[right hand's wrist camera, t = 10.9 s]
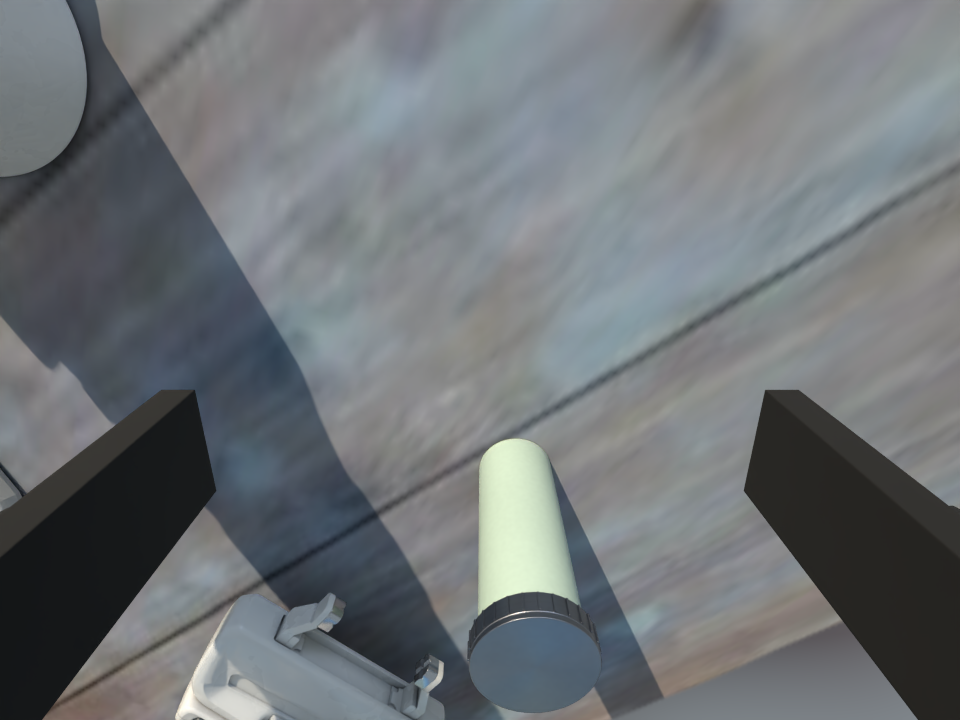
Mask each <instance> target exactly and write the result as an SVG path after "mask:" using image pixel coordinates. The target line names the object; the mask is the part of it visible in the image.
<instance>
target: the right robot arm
mask: <svg viewBox="0 0 960 720" xmlns="http://www.w3.org/2000/svg"><path fill="white" fill-rule="evenodd" d="M215 492H216V487H215V483H214V478H213V473H212V469H211V464H210V459H209V455H208V450H207V445H206V441H205V436H204V431H203V426H202V422H201V417H200V412H199V408H198V403H197V398H196V394H195V390H161V391H159V392H158V393H157V394H156V395H154V396H153V397H152V398H150V399H149V400H148V401H147V402H145V403H144V404H143V405H141V406H140V407H139V408H137V409H136V410H135V411H134V412H132V413H131V414H130V415H128V416H127V417H126V418H124V419H123V420H122V421H121V422H119V423H118V424H117V425H115V426H114V427H113V428H112V429H110V430H109V431H108V432H106V433H105V434H104V435H102V436H101V437H100V438H99V439H97V440H96V441H95V442H93V443H92V444H91V445H90V446H88V447H87V448H86V449H84V450H83V451H82V452H80V453H79V454H78V455H77V456H75V457H74V458H73V459H71V460H70V461H69V462H68V463H66V464H65V465H64V466H62V467H61V468H60V469H58V470H57V471H56V472H55V473H53V474H52V475H51V476H49V477H48V478H47V479H45V480H44V481H43V482H42V483H40V484H39V485H38V486H36V487H35V488H34V489H33V490H31V491H30V492H29V493H27V494H26V495H25V496H23V497H22V498H21V499H20V500H18V501H17V502H16V503H14V504H13V505H12V506H11V507H9V508H6V509H4V510H2V511H0V720H42V719H43V718H44V716H45V715H46V714H47V712H48V711H49V710H50V709H51V707H52V706H53V705H54V703H55V702H56V701H57V699H58V698H59V697H60V695H61V694H62V693H63V691H64V690H65V689H66V687H67V686H68V685H69V684H70V682H71V681H72V680H73V678H74V677H75V676H76V674H77V673H78V672H79V670H80V669H81V668H82V666H83V665H84V664H85V663H86V661H87V660H88V659H89V657H90V656H91V655H92V653H93V652H94V651H95V649H96V648H97V647H98V645H99V644H100V643H101V641H102V640H103V639H104V638H105V636H106V635H107V634H108V632H109V631H110V630H111V628H112V627H113V626H114V624H115V623H116V622H117V620H118V619H119V618H120V617H121V615H122V614H123V613H124V611H125V610H126V609H127V607H128V606H129V605H130V603H131V602H132V601H133V599H134V598H135V597H136V595H137V594H138V593H139V592H140V590H141V589H142V588H143V586H144V585H145V584H146V582H147V581H148V580H149V578H150V577H151V576H152V574H153V573H154V572H155V571H156V569H157V568H158V567H159V565H160V564H161V563H162V561H163V560H164V559H165V557H166V556H167V555H168V553H169V552H170V551H171V549H172V548H173V547H174V546H175V544H176V543H177V542H178V540H179V539H180V538H181V536H182V535H183V534H184V532H185V531H186V530H187V528H188V527H189V526H190V524H191V523H192V522H193V521H194V519H195V518H196V517H197V515H198V514H199V513H200V511H201V510H202V509H203V507H204V506H205V505H206V503H207V502H208V501H209V500H210V498H211V497H212V496H213V494H214V493H215ZM744 492H745V493H746V494H747V496H748V497H749V498H750V500H751V501H752V502H753V503H754V505H755V506H756V507H757V509H758V510H759V511H760V513H761V514H762V515H763V517H764V518H765V519H766V521H767V522H768V523H769V524H770V526H771V527H772V528H773V530H774V531H775V532H776V534H777V535H778V536H779V538H780V539H781V540H782V542H783V543H784V544H785V546H786V547H787V548H788V549H789V551H790V552H791V553H792V555H793V556H794V557H795V559H796V560H797V561H798V563H799V564H800V565H801V567H802V568H803V569H804V571H805V572H806V573H807V574H808V576H809V577H810V578H811V580H812V581H813V582H814V584H815V585H816V586H817V588H818V589H819V590H820V592H821V593H822V594H823V595H824V597H825V598H826V599H827V601H828V602H829V603H830V605H831V606H832V607H833V609H834V610H835V611H836V613H837V614H838V615H839V617H840V618H841V619H842V620H843V622H844V623H845V624H846V626H847V627H848V628H849V630H850V631H851V632H852V634H853V635H854V636H855V638H856V639H857V640H858V641H859V643H860V644H861V645H862V647H863V648H864V649H865V651H866V652H867V653H868V655H869V656H870V657H871V659H872V660H873V661H874V662H875V664H876V665H877V666H878V668H879V669H880V670H881V672H882V673H883V674H884V676H885V677H886V678H887V680H888V681H889V682H890V684H891V685H892V686H893V687H894V689H895V690H896V691H897V693H898V694H899V695H900V697H901V698H902V699H903V701H904V702H905V703H906V705H907V706H908V707H909V708H910V710H911V711H912V712H913V714H914V715H915V716H916V718H917V719H918V720H960V509H958V508H956V507H954V506H948V505H947V504H946V503H944V502H943V501H942V500H940V499H939V498H938V497H937V496H935V495H934V494H933V493H931V492H930V491H929V490H927V489H926V488H925V487H924V486H922V485H921V484H920V483H918V482H917V481H916V480H915V479H913V478H912V477H911V476H909V475H908V474H907V473H905V472H904V471H903V470H902V469H900V468H899V467H898V466H896V465H895V464H894V463H892V462H891V461H890V460H889V459H887V458H886V457H885V456H883V455H882V454H881V453H880V452H878V451H877V450H876V449H874V448H873V447H872V446H870V445H869V444H868V443H867V442H865V441H864V440H863V439H861V438H860V437H859V436H858V435H856V434H855V433H854V432H852V431H851V430H850V429H848V428H847V427H846V426H845V425H843V424H842V423H841V422H839V421H838V420H837V419H836V418H834V417H833V416H832V415H830V414H829V413H828V412H826V411H825V410H824V409H823V408H821V407H820V406H819V405H817V404H816V403H815V402H813V401H812V400H811V399H810V398H808V397H807V396H806V395H804V394H803V393H802V392H801V391H799V390H765V394H764V398H763V403H762V408H761V412H760V417H759V422H758V426H757V431H756V436H755V440H754V445H753V450H752V455H751V459H750V464H749V469H748V473H747V478H746V483H745V487H744Z"/></svg>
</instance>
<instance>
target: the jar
mask: <svg viewBox="0 0 960 720" xmlns="http://www.w3.org/2000/svg"><path fill="white" fill-rule="evenodd" d="M537 591H539V592H545V593H551V594H552V593H554V594H555V595H559V596H562V597H564V598H568V599H569V600H570V601H572V602H574V603H575V604H577V605H578V604H579V605H580V607H581V604H580V600H579V595H578V590H577V586H576V581H575V576H574V572H573V567H572V562H571V558H570V553H569V548H568V544H567V539H566V534H565V530H564V525H563V520H562V516H561V511H560V506H559V502H558V497H557V492H556V488H555V483H554V478H553V474H552V469H551V464H550V461H549V458H548V456H547V454H546V453H545V451H544V450H543V449H542V448H541V447H539V446H538V445H536V444H535V443H533V442H530V441H528V440H523V439H508V440H504V441H501V442H499V443H497V444H495V445H493V446H492V447H491V448H490V449H489V450H488V451H487V452H486V453H485V454H484V456H483V458H482V460H481V462H480V468H479V577H478V616H479V615H480V614H481V613H482V610H485V609H486V608H487V607H488V606H489V605H491V604H492V603H493V602H496V601H498V600H500V599H502V598H504V597H506V596H510V595H513V594H517V593H521V592H523V593H524V592H537Z"/></svg>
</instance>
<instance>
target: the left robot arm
mask: <svg viewBox="0 0 960 720" xmlns="http://www.w3.org/2000/svg"><path fill="white" fill-rule="evenodd" d="M86 93H87V71H86V61H85V55H84V50H83V45H82V41H81V38H80V34H79V31H78V28H77V25H76V22H75V20H74V17H73V15H72V12H71V10H70V8H69V6H68V4H67V2H66V0H0V177H9V176H17V175H22V174H26V173H29V172H32V171H34V170H37V169H39V168H41V167H43V166H45V165H46V164H48V163H49V162H51V161H52V160H54V159H55V158H56V157H57V156H58V155H59V154H60V153H61V152H62V151H63V150H64V149H65V148H66V147H67V145H68V144H69V143H70V141H71V140H72V138H73V136H74V135H75V133H76V131H77V129H78V126H79V124H80V121H81V118H82V115H83V111H84V107H85V101H86ZM345 607H346V602H345V601H343V600H342V599H340V598H338V597H337V596H335V595H334V594H332V593H331V592H330V593H328V594H327V595H326V596H325V597H324V598H323V599H322V600H321V601H320V602H319V603H313V604H309V605H304V606H299V607H294V608H293V609H292V610H291V611H290V612H288V611H286V610H285V609H283V608H281V607H280V606H278V605H276V604H275V603H273V602H271V601H270V600H268V599H266V598H265V597H263V596H261V595H259V594H249V595H243V596H241V597H239V598H238V600H237V601H236V602H235V603H234V604H233V605H232V607H231V608H230V609H229V611H228V612H227V614H226V615H225V617H224V618H223V620H222V622H221V623H220V625H219V627H218V629H217V630H216V632H215V634H214V636H213V638H212V639H211V641H210V643H209V645H208V647H207V649H206V650H205V652H204V654H203V656H202V658H201V660H200V662H199V664H198V666H197V668H196V670H195V672H194V675H193V677H192V679H191V681H190V683H189V685H188V687H187V689H186V691H185V694H184V696H183V698H182V701H181V703H180V706H179V708H178V711H177V713H176V717H175V719H176V720H445V710H444V706H443V704H442V703H441V702H439V701H438V700H436V699H434V698H433V697H431V696H429V692H430V691H431V690H432V689H433V688H434V687H436V686H437V685H438V684H439V683H440V682H441V680H442V678H443V672H444V663H443V662H442V661H440V660H438V659H437V658H435V657H434V656H432V655H430V654H427V655H425V658H423V659H421V660H420V661H418V662H417V663H416V669H415V671H416V675H415V677H414V681H412V682H411V683H410V684H409V683H407V682H406V681H404V680H402V679H401V678H399V677H397V676H396V675H394V674H392V673H391V672H389V671H387V670H385V669H384V668H382V667H380V666H379V665H377V664H375V663H374V662H372V661H370V660H369V659H367V658H365V657H364V656H362V655H360V654H359V653H357V652H355V651H354V650H352V649H350V648H348V647H347V646H345V645H343V644H342V643H340V642H338V641H337V640H335V639H333V638H332V637H330V636H328V635H327V634H325V633H323V632H322V631H320V630H318V629H317V628H318V627H319V628H320V629H322V630H324V631H326V632H329V631H330V630H331V629H332V628H333V626H334V625H335V624H337V623H338V622H339V621H340V620H341V618H342V616H343V614H344V610H343V609H344V608H345Z"/></svg>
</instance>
